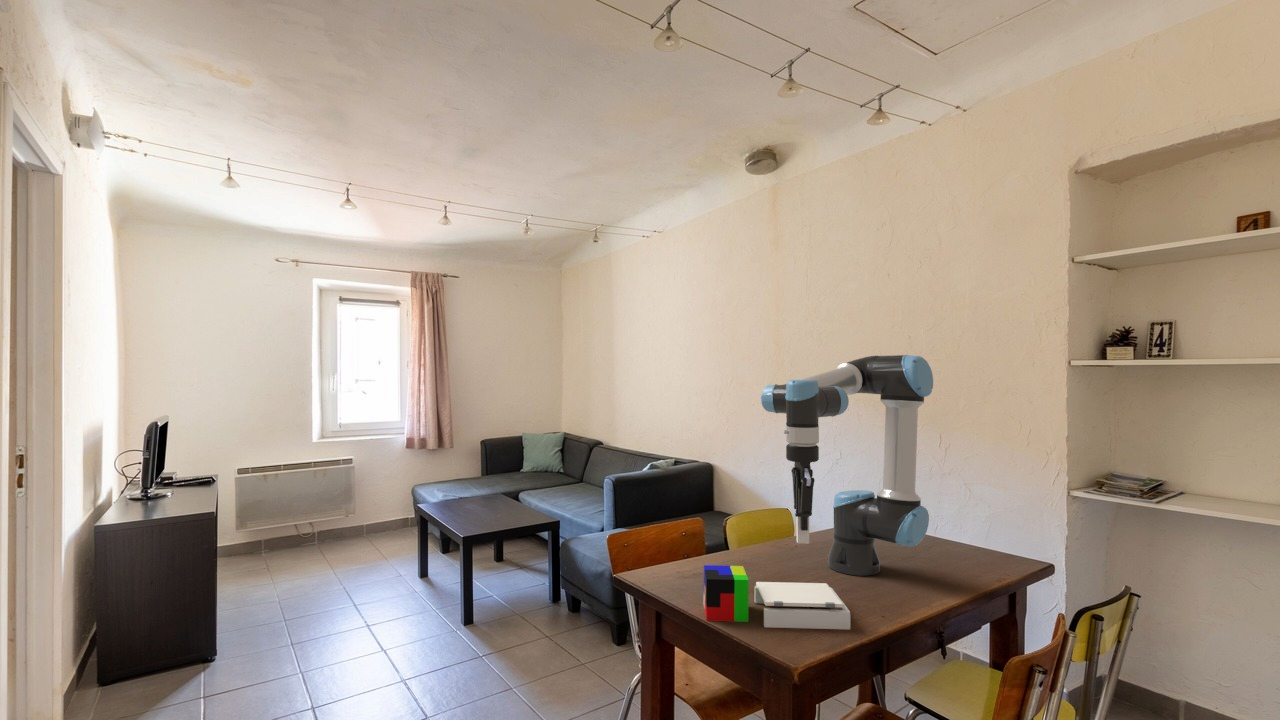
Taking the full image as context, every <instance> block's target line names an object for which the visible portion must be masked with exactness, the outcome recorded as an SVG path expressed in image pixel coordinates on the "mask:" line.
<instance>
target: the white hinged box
mask: <svg viewBox="0 0 1280 720" xmlns="http://www.w3.org/2000/svg"><path fill="white" fill-rule="evenodd" d="M830 588H831V590H832V591H833V592H834V593H835V595H836V596H837V597H838V599H839V600H840V601H841V602H842V604H843V607H835V608H833V607H829V609H824V608H823V609H821V608H817V609H816V608H812V609H811V608H782V607H781V608H777V607H776V608H775V607H774V608H772V607H771V608H770V607H763V627H764V628H770V629H771V628H772V629H773V628H775V629H776V628H778V629H779V628H780V629H781V628H782V629H784V628H785V629H813V630H814V629H818V630H819V629H820V630H824V629H825V630H851V611H850V610H849V608H848V607H847V606H846V604H845V603H844V601H843V600H842V599H841V598H840V597H839V596H838V595H839V594H837V593H836V591H835V590H834V589H833V587H830ZM754 604H764V601H763V599H762V597H761V595H760V592H759V590H758V588H757V586H756V585H754Z"/></svg>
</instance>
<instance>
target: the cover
mask: <svg viewBox="0 0 1280 720" xmlns="http://www.w3.org/2000/svg"><path fill="white" fill-rule="evenodd" d="M755 586H757V588H758V590H759V592H760V595H761V597H762V599H763V601H764V603H763V604H764V605H765V606H766V607H767V606H769V607H771V606H773V607H804V608H805V607H807V608H809V607H813V608H830V607H833V608H835V607H843V604H842V602H843V601H842V600H841V601H842V602H841V601H840V600H839V599H838V597H839V596H838V597H837V596H836V595H835V593H836V592H835V593H834V592H833V591H832V590H831V588H832V587H830V586H829V584H828V583H825V582H824V583H823V582H821V583H820V582H785V581H784V582H783V581H782V582H780V581H776V582H775V581H774V582H773V581H756V582H755ZM765 606H764V607H765Z"/></svg>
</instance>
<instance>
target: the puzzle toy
mask: <svg viewBox="0 0 1280 720" xmlns="http://www.w3.org/2000/svg"><path fill="white" fill-rule="evenodd" d="M749 582H750V581H749V577H748V576H747V572H746V570H745V567H744V566H743V565H710V564H706V565H705V564H703V608H704V615H705V620H706V621H707V622H709V621H710V622H740V623H741V622H742V623H743V622H749Z"/></svg>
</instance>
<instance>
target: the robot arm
mask: <svg viewBox="0 0 1280 720" xmlns="http://www.w3.org/2000/svg"><path fill="white" fill-rule="evenodd" d="M933 389H934V376H933V371H932V369H931V366H930V363H929V362H928V361H927V360H926V359H925V358H924V357H922V356H919V355H910V354H904V355H903V354H901V355H899V354H898V355H870V356H864V357H860V358H858V359H857V358H855V359H853V360H849V361H847V362H844V363H841V364H839V365H838V366H836V367H835V369H832V370H828V371H826V372H821V373H819V374H816V375H813V376H809V377H806V378H802V379H789V380H788V381H787V382H786V383H785V384H776V383H775V384H769V385H766V386H765V387H764V388H763V389H762V391H761V394H760V401H761V402H760V403H761V406H762V408H763V409H764V410H765V411H767V412H768V413H774V414H786V423H785V425H786V426H785V427H786V429H784V431H783V433H784V435H786V438H785V439H786V442H787V444H786V446H785V457H786V460H787V461H789V462H793V463H794V464H793V465H794V466H793V467H792V468H791V470H790V471H791V476H792V491H793V509H794V510H795V513H794V515H795V517H796V520H795V522H796V523H795V527H796V536H795V537H796V543H797V544H809V545H810V517H812V516H813V499H814V497H813V496H814V485H815V478H814V477H813V476H814V475H813V474H814V471H813V469H812V467H811V463H816V462H818V461H819V458H820V456H819V455H820V454H819V453H820V451H819V449H820V447H819V446H818V444H819V442H820V432H819V431H820V427H819V426H820V425H819V418H825V417H826V418H827V417H832V418H833V417H836V416H841V415H842V414H844V413H845V412H846V411H847V410H848V407H849V403H850V402H849V401H850V399H849V395H856V394H869V395H870V394H871V395H880V402H881V403H882V404H883V405H884V407H885V414H884V415H885V416H884V417H885V419H884V420H885V421H884V442H883V443H884V445H883V446H884V448H883V472H882V473H883V475H882V477H883V478H882V489H881V490H880V491H879V492H877V493H876V495H875V492H873V491H871V490H863V489H861V490H858V489H857V490H856V489H855V490H844V491H839V492H837V493H836V494H834V498H833V506H832V508H833V541H832V544H831V547H830V549H829V553H828V555H827V567H828V568H830V569H831V570H833V571H835V572H838V573H842V574H847V575H851V576H852V575H853V576H862V577H863V576H874V575H878V574H879V573H880V572H881V561H880V558H879V555H878V552H877V549H876V546H875V540H880V541H882V542H888V543H890V544H891V543H892V544H896V545H898V546H906V547H911V548H912V547H916V546H919V544H920V543H922V541H923V539H924V538H925V536H926V534H927V533H928V532H927V531H928V528H929V522H930V515H929V511H928V509H927V508H926V507H925V506H922V505H921V502H922V499H921V497H920V496H919V495H918V494H917V492H916V481H917V480H916V477H917V450H918V449H917V445H918V440H917V439H918V417H919V416H918V415H919V413H918V412H919V408H920V407H921V406H922V405H923V404H924V403H925V398H926V397H928V396H930V395H931V394H932V391H933Z"/></svg>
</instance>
